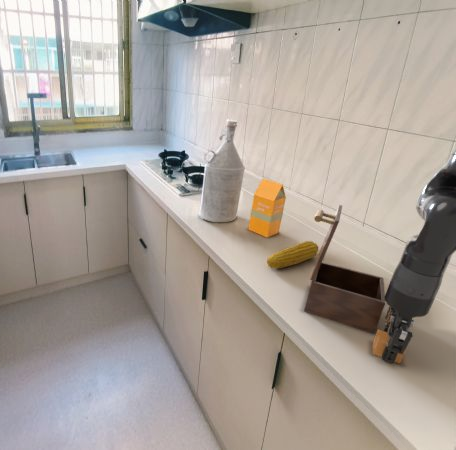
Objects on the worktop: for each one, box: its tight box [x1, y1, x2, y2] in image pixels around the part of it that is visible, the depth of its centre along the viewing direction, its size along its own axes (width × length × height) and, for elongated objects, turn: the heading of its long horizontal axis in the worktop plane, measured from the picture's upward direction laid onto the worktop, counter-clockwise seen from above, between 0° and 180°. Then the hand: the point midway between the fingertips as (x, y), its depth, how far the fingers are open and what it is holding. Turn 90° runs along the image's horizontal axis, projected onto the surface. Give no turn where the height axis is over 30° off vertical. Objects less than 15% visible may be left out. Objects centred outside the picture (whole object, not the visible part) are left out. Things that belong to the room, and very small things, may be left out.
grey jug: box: [198, 118, 246, 223], centre depth 135 cm, size 13×17×40 cm
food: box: [266, 240, 319, 269], centre depth 108 cm, size 21×6×6 cm, turn 121°
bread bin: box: [303, 261, 386, 334], centre depth 86 cm, size 16×13×9 cm
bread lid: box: [310, 204, 343, 281], centre depth 85 cm, size 16×13×5 cm
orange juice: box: [248, 178, 287, 238], centre depth 127 cm, size 8×9×20 cm
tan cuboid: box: [372, 329, 407, 364], centre depth 73 cm, size 5×4×4 cm
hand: (386, 351), depth 74 cm, fingers open, 5 cm apart
